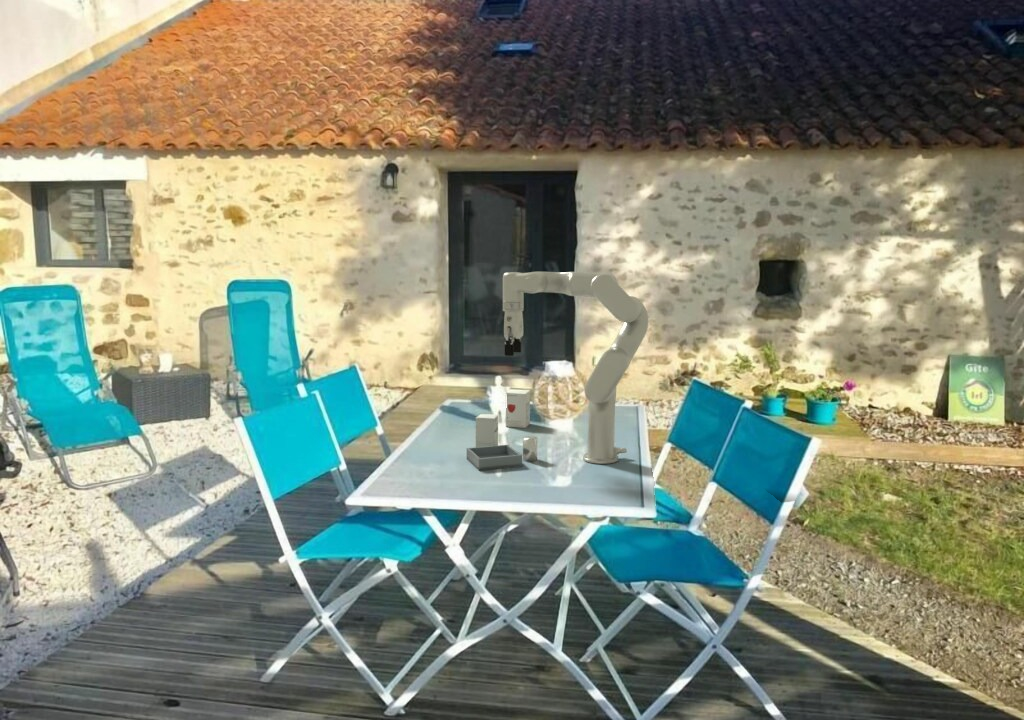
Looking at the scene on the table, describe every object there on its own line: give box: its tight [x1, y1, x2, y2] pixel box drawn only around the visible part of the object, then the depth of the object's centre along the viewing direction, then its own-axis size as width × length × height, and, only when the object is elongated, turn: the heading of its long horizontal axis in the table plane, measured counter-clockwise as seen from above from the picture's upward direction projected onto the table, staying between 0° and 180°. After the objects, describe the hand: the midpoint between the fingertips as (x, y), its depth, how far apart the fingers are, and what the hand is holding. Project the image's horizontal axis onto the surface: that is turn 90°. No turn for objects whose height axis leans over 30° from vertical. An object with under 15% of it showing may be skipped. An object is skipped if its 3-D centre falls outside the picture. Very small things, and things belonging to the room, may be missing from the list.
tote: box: [466, 444, 523, 471], centre depth 271 cm, size 16×16×4 cm
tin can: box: [522, 435, 539, 463], centre depth 274 cm, size 5×5×8 cm
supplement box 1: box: [475, 413, 499, 447], centre depth 289 cm, size 7×7×13 cm
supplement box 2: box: [505, 388, 531, 429], centre depth 328 cm, size 9×9×15 cm
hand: (512, 353), depth 278 cm, fingers open, 9 cm apart
